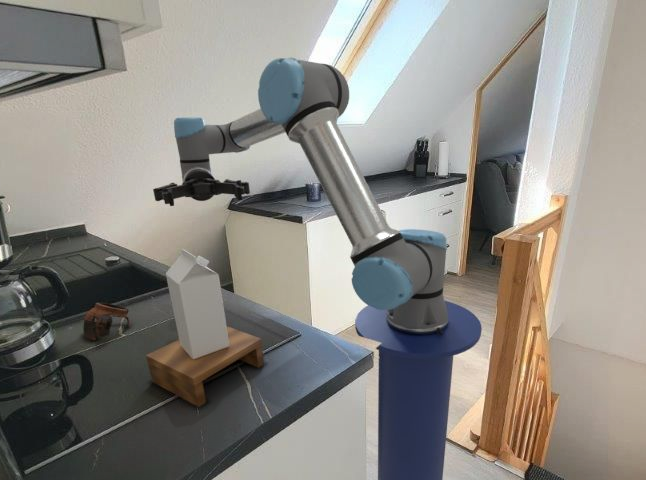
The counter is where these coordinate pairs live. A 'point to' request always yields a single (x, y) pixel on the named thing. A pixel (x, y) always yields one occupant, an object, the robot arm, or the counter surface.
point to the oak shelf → (200, 364)
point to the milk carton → (197, 305)
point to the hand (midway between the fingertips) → (206, 196)
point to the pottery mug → (102, 319)
